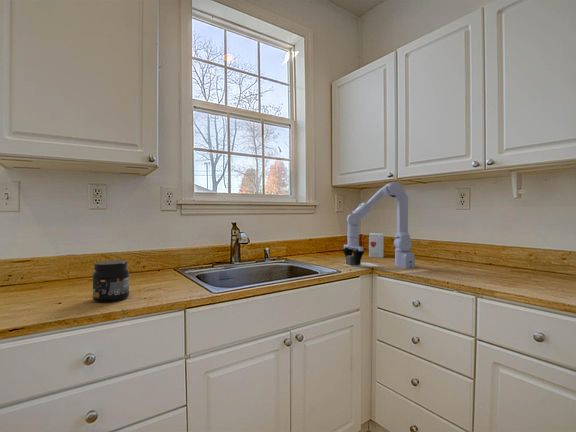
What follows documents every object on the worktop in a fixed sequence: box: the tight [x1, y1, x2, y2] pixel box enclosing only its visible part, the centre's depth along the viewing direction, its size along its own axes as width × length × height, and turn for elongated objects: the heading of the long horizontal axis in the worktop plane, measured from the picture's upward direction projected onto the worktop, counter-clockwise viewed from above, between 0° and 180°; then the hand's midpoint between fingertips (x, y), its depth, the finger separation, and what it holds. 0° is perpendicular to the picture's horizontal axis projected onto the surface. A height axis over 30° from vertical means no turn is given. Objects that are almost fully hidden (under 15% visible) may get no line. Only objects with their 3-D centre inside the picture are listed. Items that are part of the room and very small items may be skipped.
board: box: [341, 262, 381, 269], centre depth 161 cm, size 11×16×1 cm
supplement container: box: [91, 259, 130, 304], centre depth 102 cm, size 10×10×12 cm
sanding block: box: [345, 254, 362, 268], centre depth 160 cm, size 4×6×5 cm, turn 112°
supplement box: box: [368, 232, 385, 259], centre depth 202 cm, size 9×9×15 cm
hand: (353, 263), depth 160 cm, fingers open, 7 cm apart
